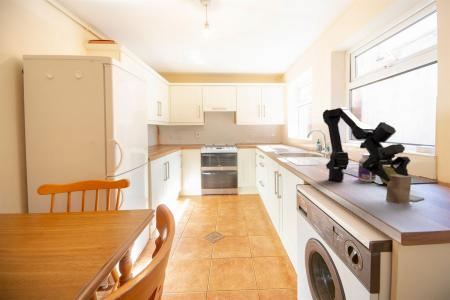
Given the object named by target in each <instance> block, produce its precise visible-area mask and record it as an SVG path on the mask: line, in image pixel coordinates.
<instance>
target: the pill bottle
mask: <svg viewBox="0 0 450 300" xmlns="http://www.w3.org/2000/svg"><path fill="white" fill-rule="evenodd" d="M369 155H370V154H369V153H362V154H361V158H359V159H358V172H357V179H358V180H359V181H362V182H367V183H372V181H374V182H375V181H376V177H377V175H375V174H373V173H371V172H368V171H367V170H364V169H363V167H362V163H363V162H365V161H366V160H367V159H368V158H369Z"/></svg>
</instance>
